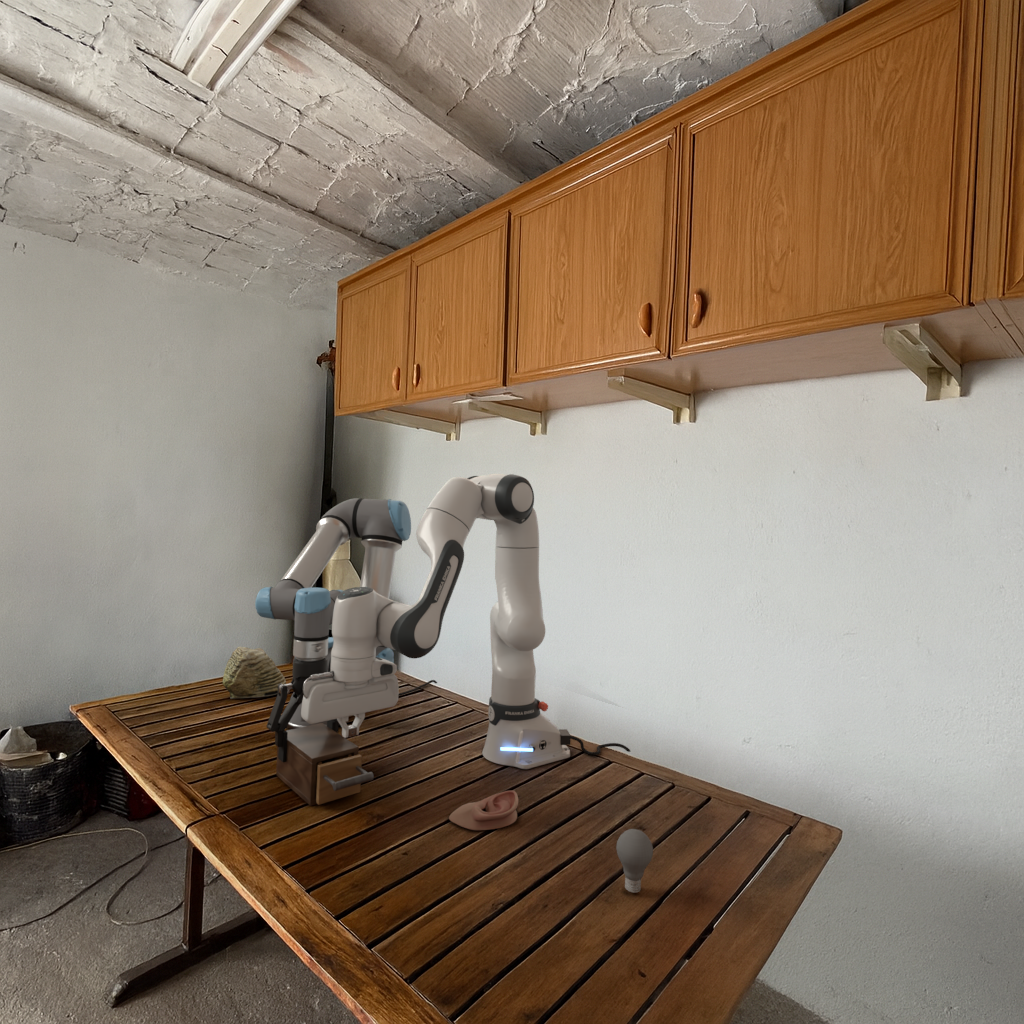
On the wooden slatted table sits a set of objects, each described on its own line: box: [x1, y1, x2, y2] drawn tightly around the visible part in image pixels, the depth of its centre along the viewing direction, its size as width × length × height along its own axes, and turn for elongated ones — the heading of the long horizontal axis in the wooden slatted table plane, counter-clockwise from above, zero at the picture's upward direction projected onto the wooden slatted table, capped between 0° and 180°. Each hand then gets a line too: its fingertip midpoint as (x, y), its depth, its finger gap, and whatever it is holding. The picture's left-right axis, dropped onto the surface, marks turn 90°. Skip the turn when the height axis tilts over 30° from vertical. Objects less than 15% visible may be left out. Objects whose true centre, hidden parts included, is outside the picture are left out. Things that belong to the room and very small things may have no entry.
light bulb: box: [615, 828, 654, 894], centre depth 106 cm, size 6×6×10 cm
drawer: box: [315, 754, 375, 806], centre depth 135 cm, size 23×9×8 cm, turn 42°
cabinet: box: [275, 723, 360, 806], centre depth 140 cm, size 18×11×10 cm, turn 42°
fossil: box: [222, 646, 287, 699], centre depth 198 cm, size 9×18×15 cm, turn 132°
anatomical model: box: [448, 790, 519, 831], centre depth 128 cm, size 13×4×12 cm
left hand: (306, 754), depth 143 cm, fingers closed on cabinet, 11 cm apart
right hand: (350, 735), depth 129 cm, fingers closed
